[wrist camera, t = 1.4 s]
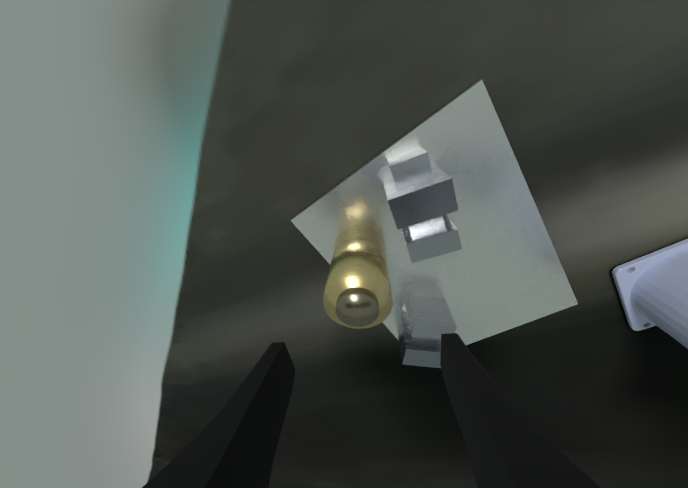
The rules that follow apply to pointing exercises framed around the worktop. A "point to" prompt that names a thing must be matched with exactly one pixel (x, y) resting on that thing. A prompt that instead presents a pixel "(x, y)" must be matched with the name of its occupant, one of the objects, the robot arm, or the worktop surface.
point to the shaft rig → (449, 230)
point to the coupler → (358, 279)
